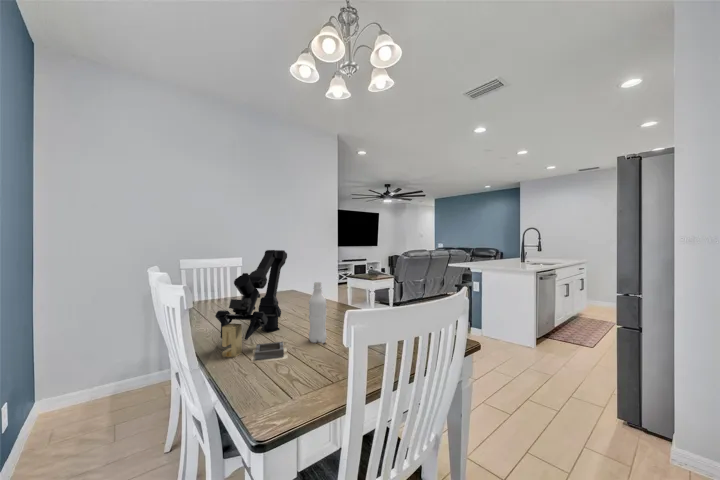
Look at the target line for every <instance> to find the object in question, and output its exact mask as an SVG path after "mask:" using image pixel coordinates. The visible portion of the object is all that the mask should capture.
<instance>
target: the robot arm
mask: <svg viewBox="0 0 720 480" xmlns="http://www.w3.org/2000/svg"><path fill="white" fill-rule="evenodd" d="M287 258H288V253H287V252H286V251H285V250H282V249H281V250H280V249H266V250H265V251H264V255H263V257H262V258H261V260H260V262H259V264H258V266H257V268H256V269H255V270H254V271H251V272H250V273H248V272H243V273H242V274H241V275H239V276H238V277H236V278H235V279H234V280H233V284H234V286H235V288H236V290H237V291H238V292H239V294H241V296H242V297H241V298H240V299H235V298H233V299H230V302H229V307H228V308H229V309H232V312H233V313H232V314H231V313H230V312H229V310H217V312H216V313H215V314H214V317H215V318H216V319H217V320H218V322H219V323H220V339H221V340H222V327H223V326H225V325H227V324H232V322H233V320H234V321H235V320H236V321H249V325H248V328H247V330H246V332H245V335H244V340H245V341H246V340H248V339H249V338H251V336H252V335H253V334H254V333H255V332H256V331H257V330H258V329H259V328H260V329H261V330H262V331H264V332H266V333H269V332H274V331H278V330H280V328H281V327H279V318H281V314H282V310H281V308H280V306H279V301H278V298H277V293H278V287H279V281H280V276H281V269H282V268H283V267H284V265H285V263H286V261H287ZM268 273H269V276H268V277H267V274H268ZM266 285H267V286H266ZM265 287H266V290H265V295H264V296H263V297H261V294H260V291H259V289H264V288H265ZM258 299H260V301H259V305H258V311H256V303H257V301H258Z"/></svg>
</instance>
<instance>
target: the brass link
mask: <svg viewBox="0 0 720 480" xmlns="http://www.w3.org/2000/svg"><path fill="white" fill-rule="evenodd" d="M242 327H243V326H242V323H230V324H227V325H225V326H223V327H222V339H221V342H222V343H221V344H222V346H221V347H223V348H226V347H227V348H226V349H225V350H223V351H222V355H221V356H222V358H224V357H225V358H226V357H227V358H236V357H238V356H239V355H241V354H242V352H243V349H242V347H243V346H242V343H243V342H242V341H243V340H242V339H243V337H242V330H243V328H242ZM228 346H230V347H228Z"/></svg>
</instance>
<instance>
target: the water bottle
mask: <svg viewBox="0 0 720 480" xmlns="http://www.w3.org/2000/svg"><path fill="white" fill-rule="evenodd" d="M312 289H313V292H312V294H311V296H310V298H309V300H308V305H309V306H308V311H309V313H308V314H309V315H308V319H309V332H308V340H309V341H310V342H311V343H313V344H315V343H316V344H317V343H322V344H324V343H325V342H326V341H327V337H328V336H327V334H328V333H327V330H326V321H327V299H326V297H325V294H324V293H323V290H322V289H323V287H322V282H320V281H317V282H314V283H313V288H312Z"/></svg>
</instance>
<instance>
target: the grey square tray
mask: <svg viewBox="0 0 720 480" xmlns="http://www.w3.org/2000/svg"><path fill="white" fill-rule="evenodd" d="M288 359H289V358H288V350H287V345H284V342H283V341H276V342H267V343H258V344H257V343H256V345H255V349H252V355H251V361H250V364H255V363H256V364H257V363H262V362H263V363H264V362H273V361H279V360H281V361H282V360H288Z"/></svg>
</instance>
